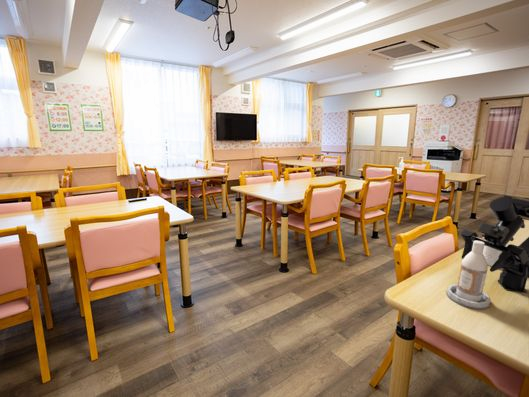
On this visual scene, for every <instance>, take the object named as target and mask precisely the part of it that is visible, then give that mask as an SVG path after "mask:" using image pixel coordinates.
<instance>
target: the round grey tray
mask: <svg viewBox="0 0 529 397" xmlns="http://www.w3.org/2000/svg"><path fill="white" fill-rule="evenodd" d="M457 285H458V283H455V284H454V283H453V284H449V286H448V287H447V288H446V289H447V290H446V296H447V298H448V299H450V300H451V301H453V302H454V303H455V304H457V305H460V306H463V307H466V308H468V309H474V310H486V309H488V308H490V307H489V306H490V302H491V298H490V297H489V295H488V294H487V293H486V292H484V291H483V292H482V296H481V300H480V301H478V302H473V301H468V300H465V299H463V298H460V297H459V296H458V295H457V294H456V290H457Z"/></svg>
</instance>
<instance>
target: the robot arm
mask: <svg viewBox="0 0 529 397" xmlns="http://www.w3.org/2000/svg"><path fill="white" fill-rule="evenodd" d="M489 209H491V211H492V213H493V216H494V218H496V220H497V222H496V223H495V224H489V223H485V222H480V224H479V227H478V229H477V232H479V233H481V236H482V237H483V238H482V237H479V235H478V233H477V232H476V231H472V230H470V229H463V230H462V231H461V232H460V233H459V235H460V236H461V238H462V240H464V248H463V251H462V255H461V259H462V260H463V259H464V257H465V256H466V255H467V254H468V253H470V252H471V251H472V247H473V242H474V241H482V242H484V243H485V246H488V247H491V248H493V249H496V250H499V251H501V252H502V253H501V254H500V255H499V257H498V260H497V261H496V262H495V263H494V264H493V265H492V266H490V268H489V271H490V272H491V273H494V272H495V271H498V270H501V269H502V270H501V271H500V274H499V278H498V280H497V282H498V283H499V285H500V286H502V287H503V289H504V290H506V291H513V292H520V293H526V294H527V293H528V290H526V289H525V288H526V285H527V281H528V279H529V236H528V237H527V238H526V239H525V240H524V241H522V242H521V243H520V244H519V245H515V244H512V243H511V244H508V243H510V242H513V241H514V240H515V238H514V236H515V235H516V234H517V233H518V231H519V230H520V229H525V227H526V224H525V220H524V219H523V218H526V219H529V199H526V198H519V197H513V196H511V195H504V196H503V197H498V198H495V199H492V200H491V201H490V203H489ZM506 245H507V247H506Z"/></svg>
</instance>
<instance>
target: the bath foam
mask: <svg viewBox="0 0 529 397" xmlns="http://www.w3.org/2000/svg"><path fill="white" fill-rule="evenodd" d="M484 245H485V243H484V242H482V241H474V242H473V247H472V251H471V252H470V253H468V254H467V255H466V256H465V257H464V259H462V261H461V265H460V270H459V276H458V280H457V284H458V285H457V290H456V294H457V295H458V296H459V297H460V298H463V299H465V300H468V301H473V302H478V301H480V300H481V296H482V292H484V287H485V282H486V278H487V272H488V268H489V267H488V265H487V261H486V259H485V257H484V255H483V249H484Z"/></svg>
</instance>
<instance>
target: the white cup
mask: <svg viewBox="0 0 529 397" xmlns="http://www.w3.org/2000/svg"><path fill="white" fill-rule="evenodd" d="M507 246H508V244H507V245H506V247H507ZM501 253H502V252H501V251H499V250H496V249H493V248H491V247H488V246H485V245H484V249H483V255H484V257H485V259H486V261H487V265H488V266H489V267H492V265H493V264H494V263H495V262H496V261H497V260H498V257H499V255H500V254H501Z"/></svg>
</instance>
